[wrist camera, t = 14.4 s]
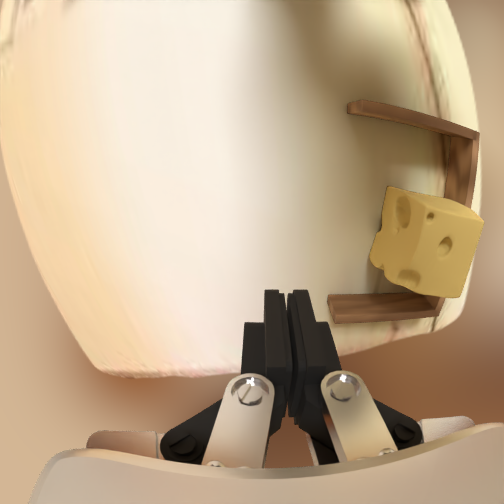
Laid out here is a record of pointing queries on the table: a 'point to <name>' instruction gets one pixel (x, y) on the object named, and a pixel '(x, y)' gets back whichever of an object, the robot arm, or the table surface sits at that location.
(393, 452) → the robot arm
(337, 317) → the wooden u-shaped bracket
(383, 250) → the cheese
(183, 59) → the table surface
